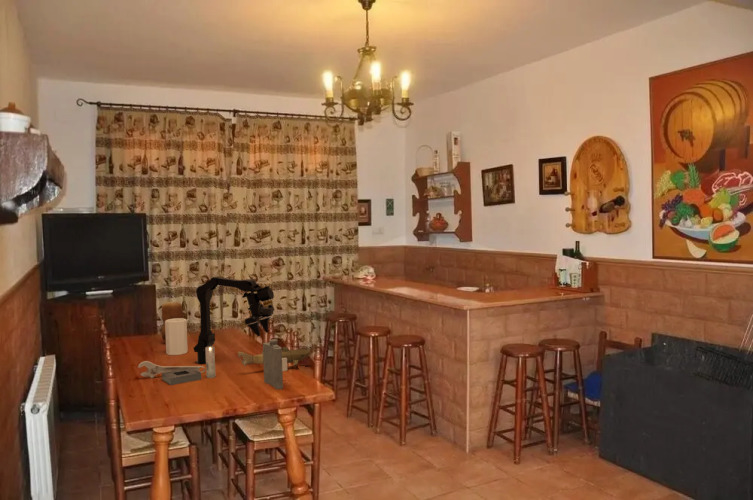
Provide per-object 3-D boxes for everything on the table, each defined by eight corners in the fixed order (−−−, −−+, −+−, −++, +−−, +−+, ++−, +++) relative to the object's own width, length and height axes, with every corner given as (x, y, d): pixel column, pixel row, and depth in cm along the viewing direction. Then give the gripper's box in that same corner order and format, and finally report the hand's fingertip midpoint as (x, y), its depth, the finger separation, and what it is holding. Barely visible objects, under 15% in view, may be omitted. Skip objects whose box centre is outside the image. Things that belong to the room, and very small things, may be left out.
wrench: (204, 378, 285) (137, 379, 273) (203, 377, 287) (137, 378, 275) (205, 361, 285) (138, 361, 273) (205, 360, 287) (138, 360, 275)
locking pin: (205, 376, 276) (204, 347, 275) (213, 375, 279) (212, 345, 278) (208, 378, 273) (207, 348, 272) (216, 377, 275) (215, 347, 275)
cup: (161, 354, 324) (160, 321, 323) (175, 350, 335) (174, 317, 334) (178, 356, 320) (176, 322, 319) (191, 351, 330) (190, 318, 329)
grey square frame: (162, 379, 273) (161, 373, 273) (191, 374, 282) (191, 367, 281) (170, 385, 264) (170, 378, 263) (201, 379, 272) (201, 372, 272)
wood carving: (236, 372, 282) (235, 349, 281) (307, 364, 296) (306, 341, 295) (240, 377, 274) (239, 353, 273) (313, 368, 288) (312, 345, 287)
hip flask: (263, 381, 266) (261, 337, 265) (271, 380, 268) (270, 336, 267) (277, 390, 252) (275, 343, 251) (286, 388, 255) (284, 342, 253)
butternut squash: (176, 339, 365) (175, 299, 363) (190, 341, 357) (188, 300, 355) (157, 343, 353) (155, 302, 352) (170, 346, 346) (168, 303, 344)
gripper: (260, 302, 284) (269, 334, 284) (276, 297, 302) (285, 326, 302) (240, 308, 287) (249, 339, 287) (257, 302, 305) (265, 332, 305)
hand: (263, 334), depth 295 cm, fingers open, 9 cm apart
